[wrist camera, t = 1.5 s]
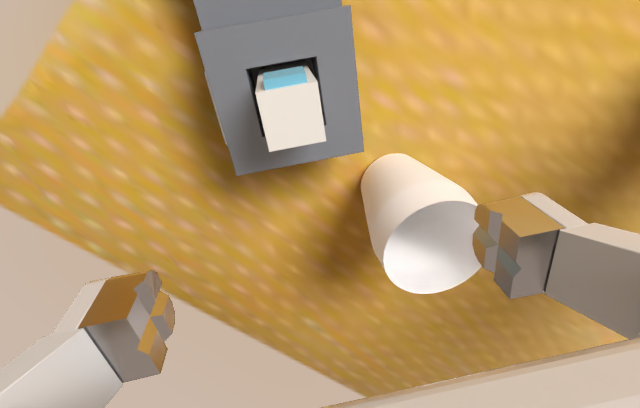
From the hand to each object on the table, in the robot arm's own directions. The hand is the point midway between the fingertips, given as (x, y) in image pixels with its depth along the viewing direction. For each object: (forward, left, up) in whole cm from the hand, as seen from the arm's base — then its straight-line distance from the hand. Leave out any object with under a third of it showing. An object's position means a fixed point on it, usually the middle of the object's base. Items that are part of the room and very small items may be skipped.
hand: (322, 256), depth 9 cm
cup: (-9, +12, -25) cm, 29 cm away
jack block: (0, -5, -25) cm, 26 cm away
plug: (0, 0, -22) cm, 22 cm away
